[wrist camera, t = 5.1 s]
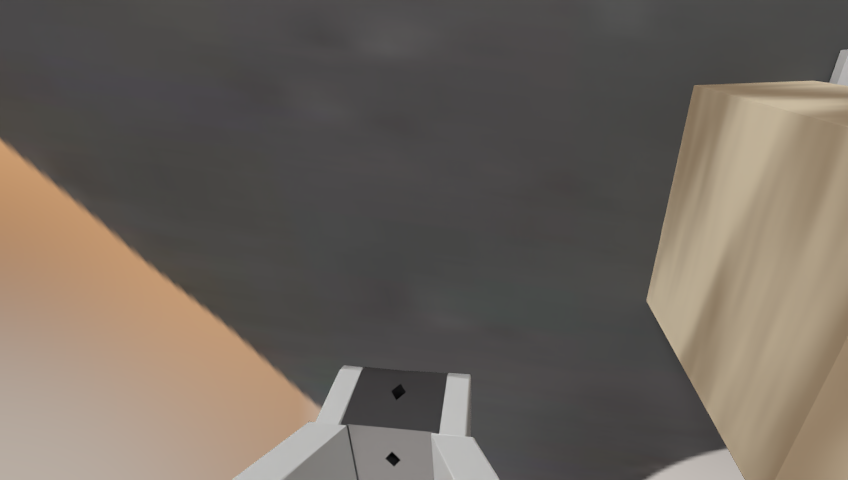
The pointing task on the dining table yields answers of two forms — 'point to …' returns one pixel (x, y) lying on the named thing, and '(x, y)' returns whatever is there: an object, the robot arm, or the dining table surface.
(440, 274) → the dining table surface
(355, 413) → the robot arm
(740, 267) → the birch slab
